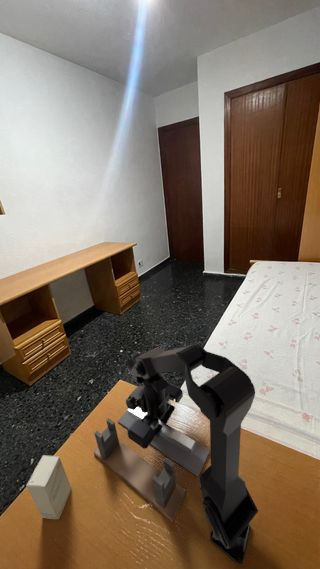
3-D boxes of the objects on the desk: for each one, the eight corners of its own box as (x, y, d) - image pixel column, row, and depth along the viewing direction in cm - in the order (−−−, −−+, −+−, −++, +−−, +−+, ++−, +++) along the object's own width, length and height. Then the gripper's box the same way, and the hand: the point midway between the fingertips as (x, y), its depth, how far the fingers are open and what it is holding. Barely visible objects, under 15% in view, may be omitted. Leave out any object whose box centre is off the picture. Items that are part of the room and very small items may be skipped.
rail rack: (185, 493, 54) (184, 467, 50) (172, 521, 49) (169, 495, 46) (109, 435, 68) (104, 412, 65) (94, 453, 64) (87, 430, 60)
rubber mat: (209, 451, 62) (209, 450, 62) (198, 477, 57) (198, 475, 56) (132, 405, 77) (132, 404, 77) (117, 422, 72) (117, 420, 72)
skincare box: (59, 520, 51) (44, 488, 47) (41, 518, 52) (24, 486, 47) (72, 486, 57) (60, 455, 52) (55, 485, 58) (42, 454, 53)
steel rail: (195, 447, 61) (195, 441, 60) (191, 455, 59) (190, 449, 58) (133, 409, 73) (132, 404, 72) (128, 415, 71) (127, 409, 70)
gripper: (151, 360, 72) (156, 397, 78) (108, 404, 58) (117, 444, 64) (182, 373, 66) (184, 412, 71) (141, 426, 52) (148, 468, 58)
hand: (159, 431), depth 66 cm, fingers closed on steel rail, 2 cm apart
